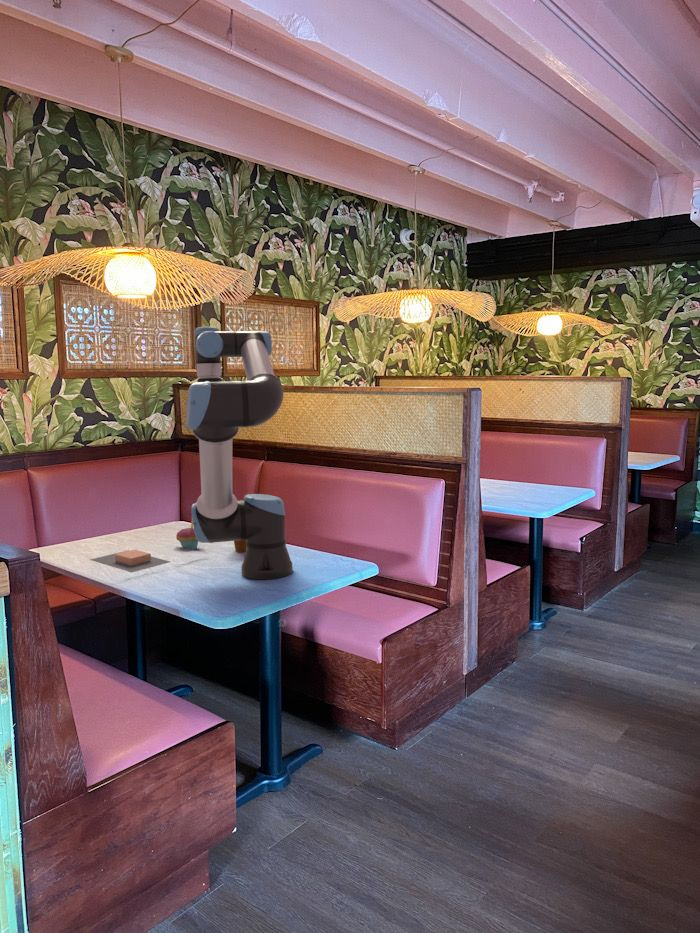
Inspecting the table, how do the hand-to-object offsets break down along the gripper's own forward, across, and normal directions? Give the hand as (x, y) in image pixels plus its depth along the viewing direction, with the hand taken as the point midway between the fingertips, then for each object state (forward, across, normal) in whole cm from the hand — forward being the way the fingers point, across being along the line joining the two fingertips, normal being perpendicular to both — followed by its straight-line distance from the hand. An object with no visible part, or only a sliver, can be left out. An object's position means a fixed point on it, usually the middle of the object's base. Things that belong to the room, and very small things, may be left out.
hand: (213, 452), depth 218 cm
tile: (+32, +21, +21) cm, 43 cm away
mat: (+34, +18, +21) cm, 44 cm away
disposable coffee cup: (+35, +1, -12) cm, 37 cm away
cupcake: (+35, +18, -2) cm, 39 cm away
